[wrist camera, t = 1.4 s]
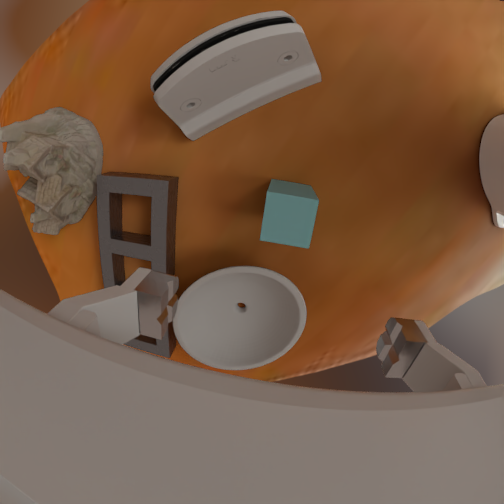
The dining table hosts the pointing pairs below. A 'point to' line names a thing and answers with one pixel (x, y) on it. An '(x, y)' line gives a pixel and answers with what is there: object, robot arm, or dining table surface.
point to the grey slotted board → (138, 237)
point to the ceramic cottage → (55, 165)
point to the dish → (239, 317)
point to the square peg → (289, 214)
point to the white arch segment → (234, 71)
